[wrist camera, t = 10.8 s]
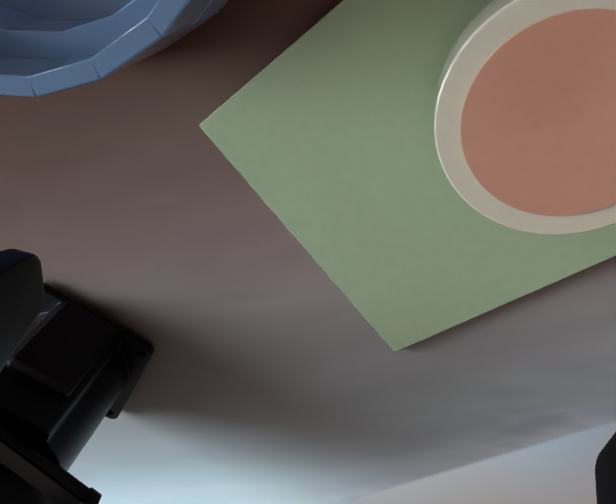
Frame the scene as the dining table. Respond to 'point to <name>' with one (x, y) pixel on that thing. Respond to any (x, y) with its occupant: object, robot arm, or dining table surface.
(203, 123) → the placemat
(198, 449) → the dining table surface
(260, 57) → the dining table surface
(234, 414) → the dining table surface
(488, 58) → the cream dish
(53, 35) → the blue bowl
